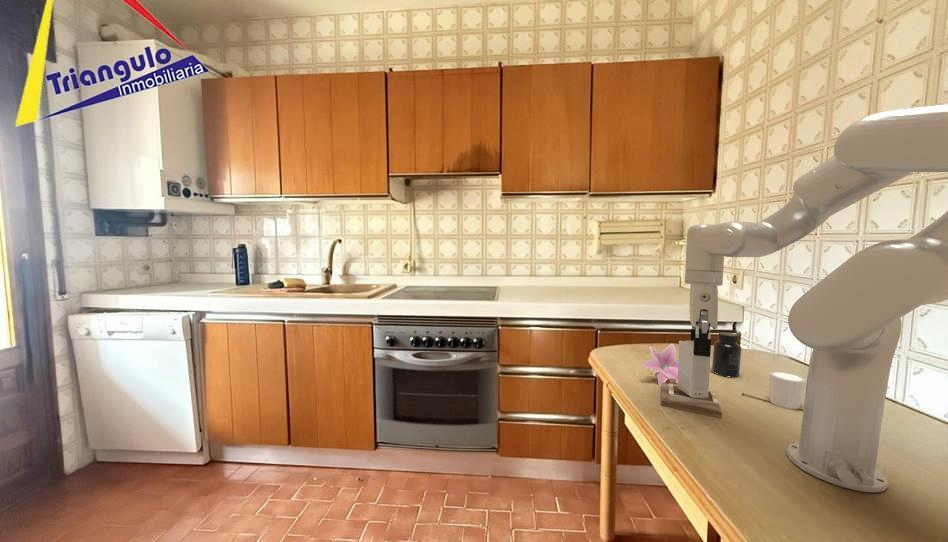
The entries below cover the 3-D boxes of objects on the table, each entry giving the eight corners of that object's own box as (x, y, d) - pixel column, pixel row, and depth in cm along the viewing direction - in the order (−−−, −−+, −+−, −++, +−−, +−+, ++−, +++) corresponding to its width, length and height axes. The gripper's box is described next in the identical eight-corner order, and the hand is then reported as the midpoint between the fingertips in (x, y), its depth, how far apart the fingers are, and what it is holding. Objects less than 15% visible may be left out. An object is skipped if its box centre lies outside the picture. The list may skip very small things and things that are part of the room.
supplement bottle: (738, 372, 111) (742, 333, 110) (739, 379, 105) (744, 338, 104) (711, 367, 115) (714, 329, 113) (711, 374, 109) (715, 334, 108)
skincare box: (709, 398, 85) (713, 347, 84) (690, 398, 85) (694, 347, 84) (692, 387, 92) (696, 340, 90) (675, 387, 91) (678, 339, 90)
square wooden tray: (721, 418, 82) (722, 404, 82) (661, 405, 87) (662, 392, 87) (714, 396, 93) (715, 384, 93) (661, 386, 98) (662, 375, 98)
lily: (632, 383, 103) (646, 360, 97) (637, 357, 112) (650, 334, 106) (677, 404, 99) (694, 381, 94) (679, 375, 108) (694, 352, 103)
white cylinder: (810, 411, 86) (813, 383, 86) (776, 408, 88) (780, 380, 87) (791, 399, 93) (794, 372, 92) (760, 396, 94) (763, 369, 94)
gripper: (729, 281, 76) (724, 363, 77) (717, 276, 91) (713, 344, 92) (687, 279, 79) (683, 357, 80) (682, 275, 95) (679, 340, 96)
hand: (699, 350), depth 86 cm, fingers open, 9 cm apart
